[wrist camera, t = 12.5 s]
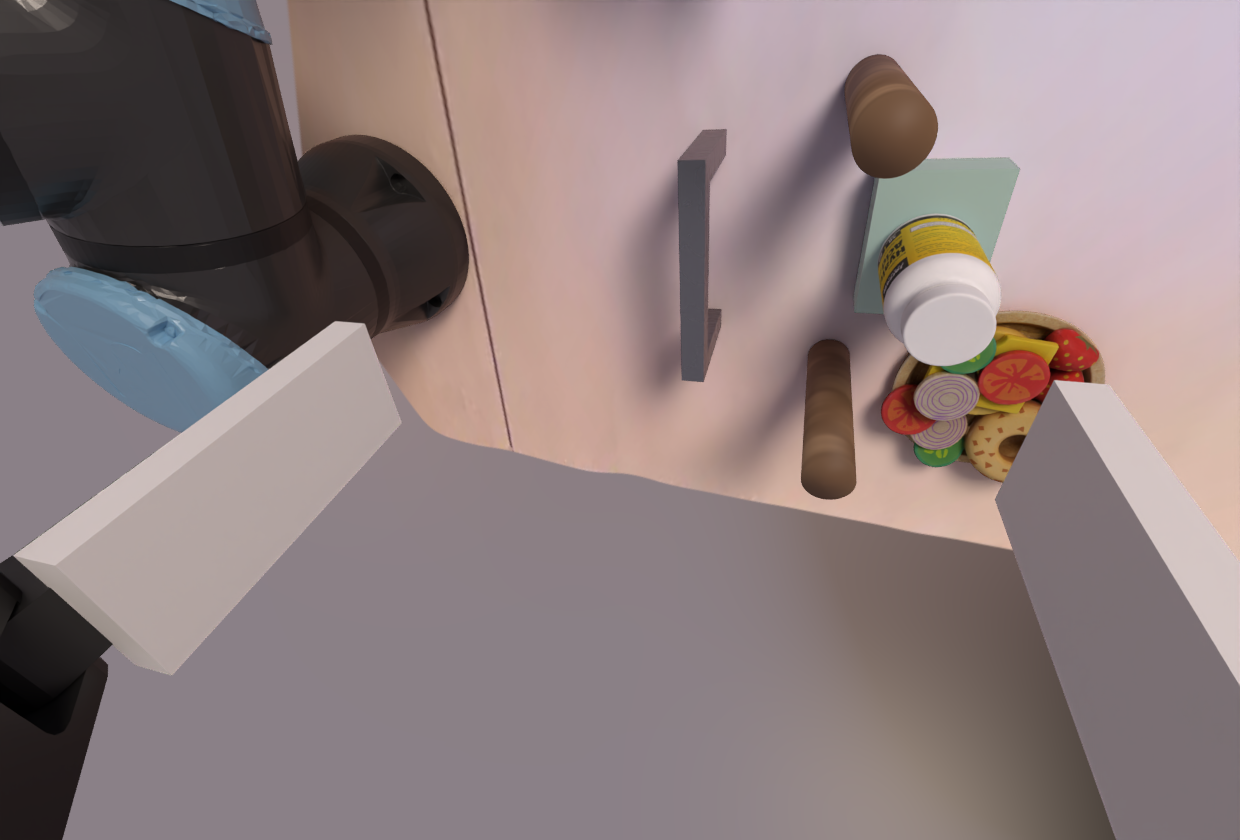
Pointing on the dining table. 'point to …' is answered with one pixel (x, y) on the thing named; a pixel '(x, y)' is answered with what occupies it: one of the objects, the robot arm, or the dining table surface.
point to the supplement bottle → (938, 289)
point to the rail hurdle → (697, 252)
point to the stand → (934, 209)
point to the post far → (828, 423)
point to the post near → (887, 118)
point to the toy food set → (989, 392)
